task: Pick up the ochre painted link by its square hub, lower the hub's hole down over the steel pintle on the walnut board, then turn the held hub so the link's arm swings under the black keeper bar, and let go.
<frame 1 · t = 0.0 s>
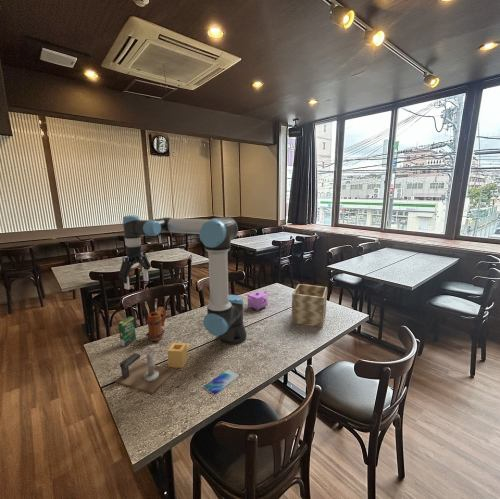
hand: (137, 284, 144), 28 cm above the table, fingers open, 13 cm apart
mug: (158, 336, 147), on the table
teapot: (257, 307, 183), on the table
smartphone: (222, 382, 111), on the table
base: (145, 376, 114), on the table
coffee box: (128, 343, 140), on the table
planter: (309, 318, 167), on the table
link: (187, 347, 136), on the table
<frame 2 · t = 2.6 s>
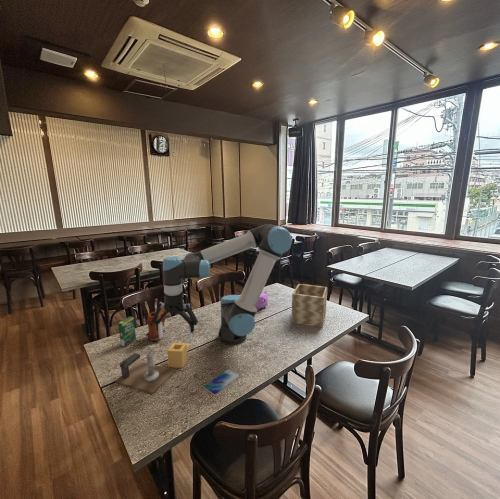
hand: (175, 337, 121), 13 cm above the table, fingers open, 13 cm apart
nothing on the table moved.
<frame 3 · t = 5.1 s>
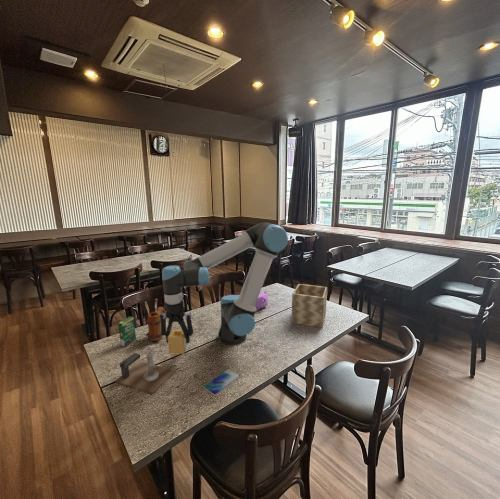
hand: (178, 348, 122), 7 cm above the table, fingers closed on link, 6 cm apart
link: (187, 334, 135), point 7 cm above the table, touching gripper
everything else where it was.
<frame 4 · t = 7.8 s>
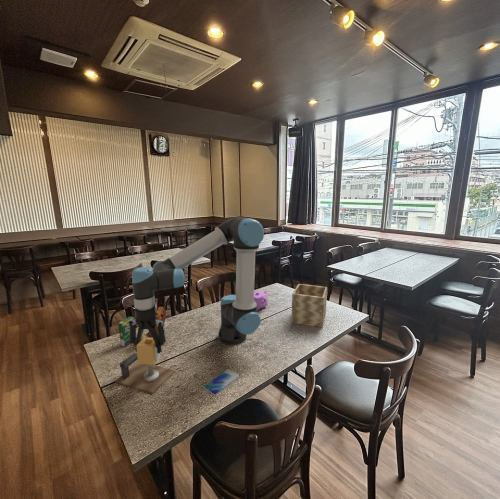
hand: (149, 359, 111), 9 cm above the table, fingers closed on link, 6 cm apart
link: (162, 343, 123), point 9 cm above the table, touching gripper
everything else where it was.
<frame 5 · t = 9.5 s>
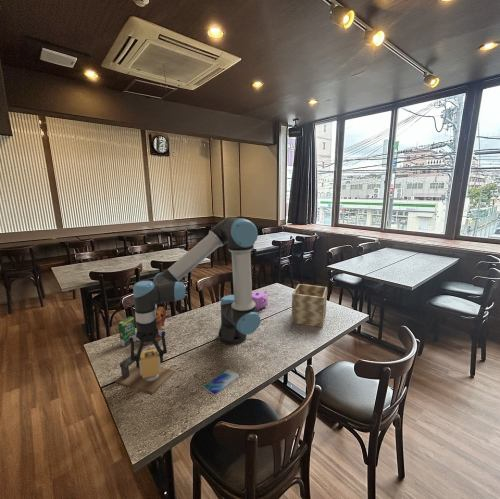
hand: (150, 371, 112), 4 cm above the table, fingers closed on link, 6 cm apart
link: (149, 355, 124), point 3 cm above the table, touching gripper
everything else where it was.
when the fingers open (2 cm above the table, at t = 10.6 s): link stays where it is, resting on base.
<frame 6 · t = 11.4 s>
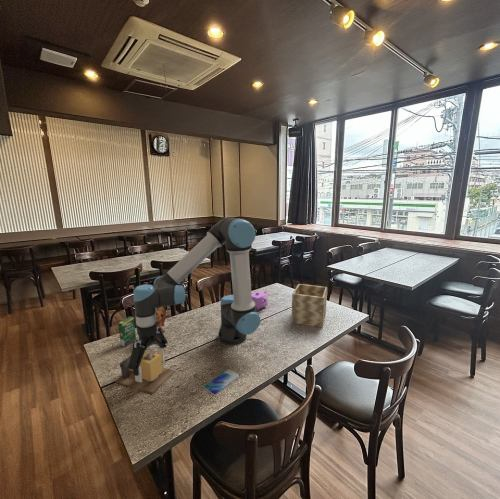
hand: (150, 370, 112), 4 cm above the table, fingers open, 13 cm apart
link: (128, 367, 117), point 2 cm above the table, touching base
everything else where it was.
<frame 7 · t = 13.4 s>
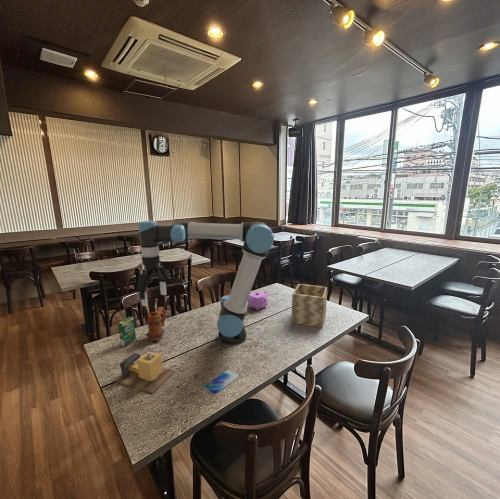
hand: (154, 300, 126), 27 cm above the table, fingers open, 13 cm apart
nothing on the table moved.
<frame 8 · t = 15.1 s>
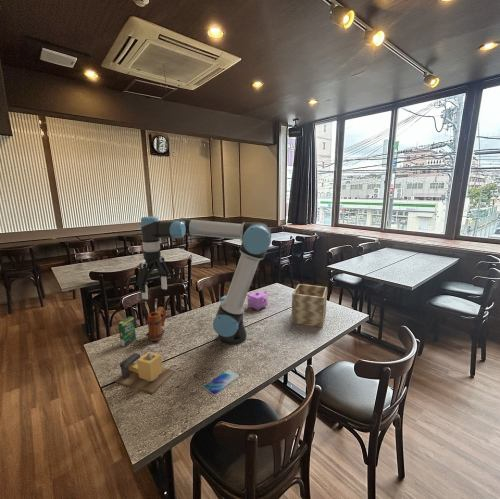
hand: (155, 293, 130), 29 cm above the table, fingers open, 13 cm apart
nothing on the table moved.
at the end: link 0.3 cm from the target spot on the base, point 2.0 cm above the base's base; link tilted 0°; the gripper is holding nothing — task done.
